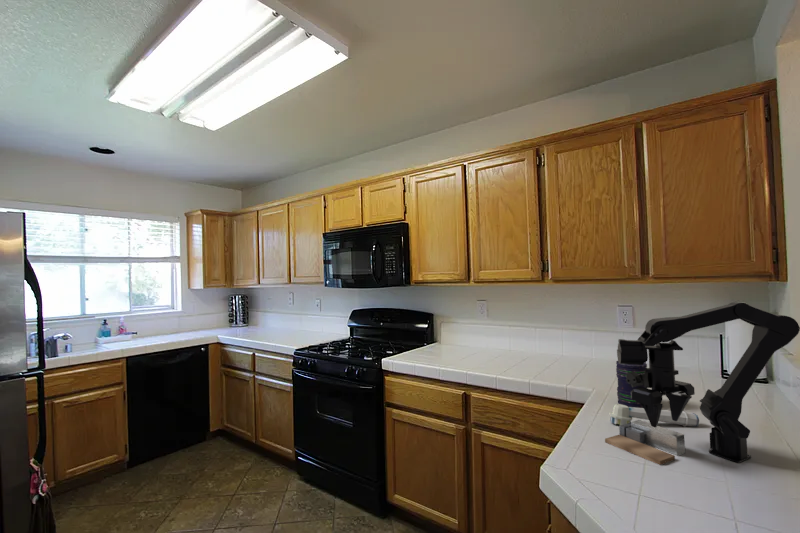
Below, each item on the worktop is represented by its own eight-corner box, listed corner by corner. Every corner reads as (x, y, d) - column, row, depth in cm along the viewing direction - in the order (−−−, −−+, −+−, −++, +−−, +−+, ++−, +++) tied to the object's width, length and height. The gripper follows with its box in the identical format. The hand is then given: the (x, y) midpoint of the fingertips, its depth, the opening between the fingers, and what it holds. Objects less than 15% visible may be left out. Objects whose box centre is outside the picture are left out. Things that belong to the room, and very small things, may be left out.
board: (674, 459, 97) (674, 455, 97) (660, 465, 95) (660, 460, 95) (619, 438, 111) (619, 434, 111) (605, 442, 108) (605, 438, 108)
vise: (659, 439, 109) (659, 427, 109) (640, 445, 105) (639, 433, 105) (639, 432, 114) (638, 420, 114) (619, 438, 111) (619, 425, 111)
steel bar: (685, 453, 101) (684, 434, 101) (677, 456, 99) (676, 437, 99) (639, 437, 111) (638, 419, 112) (631, 439, 110) (631, 422, 110)
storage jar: (611, 402, 142) (609, 361, 142) (629, 398, 146) (627, 359, 146) (637, 410, 133) (635, 367, 133) (655, 406, 137) (653, 364, 137)
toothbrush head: (701, 416, 116) (615, 403, 119) (699, 438, 116) (613, 425, 119) (690, 410, 122) (608, 398, 124) (688, 431, 122) (606, 418, 124)
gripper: (652, 356, 115) (655, 409, 115) (611, 364, 108) (613, 420, 107) (694, 363, 105) (697, 421, 105) (651, 372, 97) (654, 434, 97)
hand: (664, 423), depth 104 cm, fingers open, 9 cm apart
